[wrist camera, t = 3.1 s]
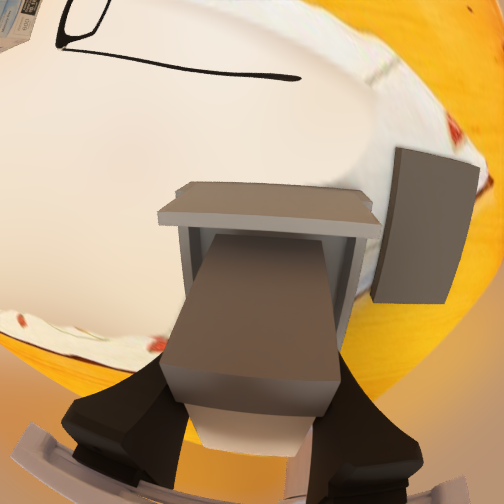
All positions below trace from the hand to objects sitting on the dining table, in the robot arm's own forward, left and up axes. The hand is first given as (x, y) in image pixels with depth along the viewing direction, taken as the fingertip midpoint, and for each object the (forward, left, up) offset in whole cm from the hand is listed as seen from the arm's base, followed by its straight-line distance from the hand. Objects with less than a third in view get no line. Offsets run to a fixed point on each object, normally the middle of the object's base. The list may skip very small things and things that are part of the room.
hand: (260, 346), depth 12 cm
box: (0, 0, -3) cm, 3 cm away
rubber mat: (+4, -10, -7) cm, 13 cm away
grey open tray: (0, 0, -7) cm, 7 cm away
